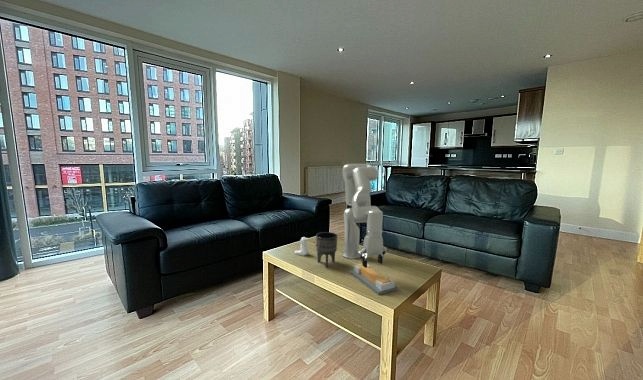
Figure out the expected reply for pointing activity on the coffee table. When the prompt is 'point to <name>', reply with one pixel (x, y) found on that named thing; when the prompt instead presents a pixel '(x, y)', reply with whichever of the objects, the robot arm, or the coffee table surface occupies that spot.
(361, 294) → the coffee table surface
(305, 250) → the sitting furry creature
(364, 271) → the slat
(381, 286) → the cap board
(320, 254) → the planter
